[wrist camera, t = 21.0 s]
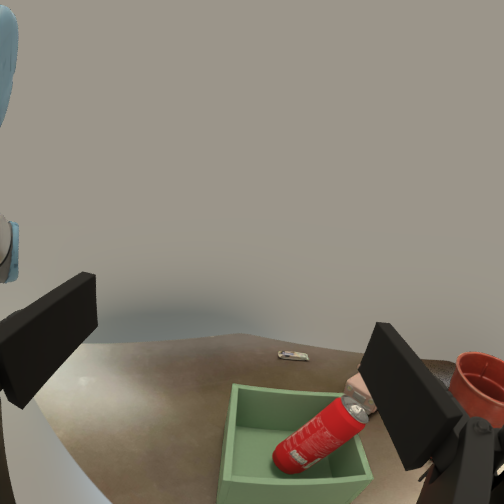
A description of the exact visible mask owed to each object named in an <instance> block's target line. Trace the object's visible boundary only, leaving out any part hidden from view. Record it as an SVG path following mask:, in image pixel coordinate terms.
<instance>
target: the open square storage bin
mask: <svg viewBox="0 0 504 504" xmlns="http://www.w3.org/2000/svg"><path fill="white" fill-rule="evenodd" d="M342 395H344V394H343V393H324V392H306V391H292V390H281V389H271V388H262V387H254V386H247V385H239V384H233V385H232V390H231V396H230V401H229V407H228V412H227V417H226V423H225V430H224V438H223V447H222V455H221V464H220V472H219V481H218V490H217V499H216V504H350V503H351V502H352V501H353V500H354V499H355V498H356V497H357V496H358V495H359V494H360V493H361V492H362V491H363V490H364V489H365V488H366V487H367V486H368V484H369V483H370V482H371V481H372V480H373V479H374V478H373V475H372V472H371V469H370V466H369V463H368V460H367V458H366V455H365V452H364V449H363V446H362V443H361V441H360V438H359V435H358V433H357V434H356V435H355V436H354V437H352V438H351V439H350V440H348V441H347V442H346V443H344V444H343V445H342V446H340V447H339V448H338V449H336V450H335V451H333V452H332V453H330V454H329V455H328V456H326V457H325V458H323V459H322V460H320V461H319V462H317V463H316V464H314V465H313V466H311V467H309V468H308V469H306V470H305V471H303V472H301V473H296V474H292V475H288V474H285V473H283V472H281V471H280V470H279V469H278V468H277V467H276V465H275V464H274V462H273V459H272V453H273V451H274V450H275V448H276V446H277V445H278V444H279V443H281V442H282V441H283V440H285V439H286V438H288V437H289V436H290V435H292V434H293V433H294V432H296V431H297V430H298V429H300V428H301V427H302V426H303V425H305V424H306V423H307V422H309V421H310V420H311V419H312V418H314V417H315V416H316V415H317V414H318V413H320V412H321V411H322V410H323V409H324V408H326V407H327V406H328V405H329V404H330V403H331V402H333V401H334V400H335V399H336V398H339V397H341V396H342Z"/></svg>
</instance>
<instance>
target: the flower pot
mask: <svg viewBox="0 0 504 504" xmlns="http://www.w3.org/2000/svg"><path fill="white" fill-rule="evenodd" d="M448 391H450V392H451V393H452V394H453V397H455V398H456V400H457V401H458V402H459V403H460V405H461V406H462V407H463V409H464V410H465V411H466V413H467V414H468V415H469V417H470V418H471V417H475V416H477V417H482V418H484V419H486V420H487V421H488V422H489V423H490V424H491V425H492V427H493V428H501V427H502V426H503V425H504V361H502V360H501V359H499V358H496V357H494V356H491V355H488V354H485V353H480V352H465V353H462V354H460V355H459V356H458V357H457V360H456V369H455V372H454V374H453V376H452V378H451V381H450V387H449V390H448ZM430 458H431V457H430Z"/></svg>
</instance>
